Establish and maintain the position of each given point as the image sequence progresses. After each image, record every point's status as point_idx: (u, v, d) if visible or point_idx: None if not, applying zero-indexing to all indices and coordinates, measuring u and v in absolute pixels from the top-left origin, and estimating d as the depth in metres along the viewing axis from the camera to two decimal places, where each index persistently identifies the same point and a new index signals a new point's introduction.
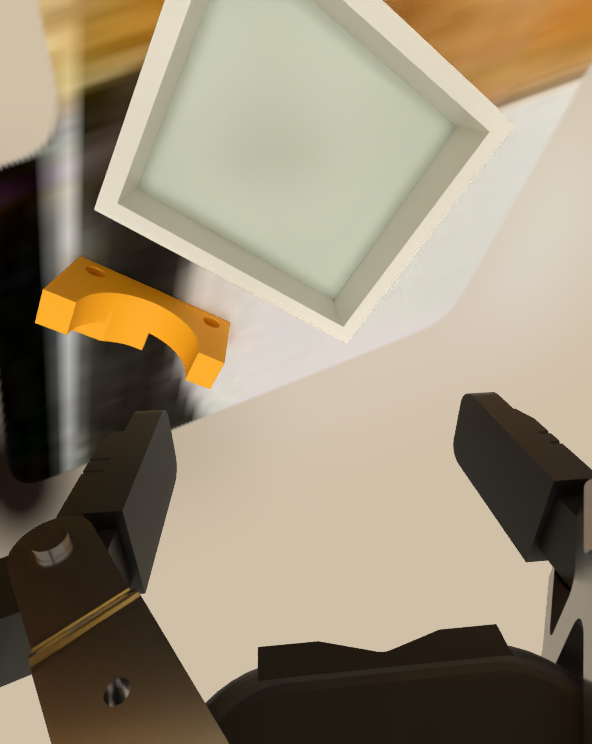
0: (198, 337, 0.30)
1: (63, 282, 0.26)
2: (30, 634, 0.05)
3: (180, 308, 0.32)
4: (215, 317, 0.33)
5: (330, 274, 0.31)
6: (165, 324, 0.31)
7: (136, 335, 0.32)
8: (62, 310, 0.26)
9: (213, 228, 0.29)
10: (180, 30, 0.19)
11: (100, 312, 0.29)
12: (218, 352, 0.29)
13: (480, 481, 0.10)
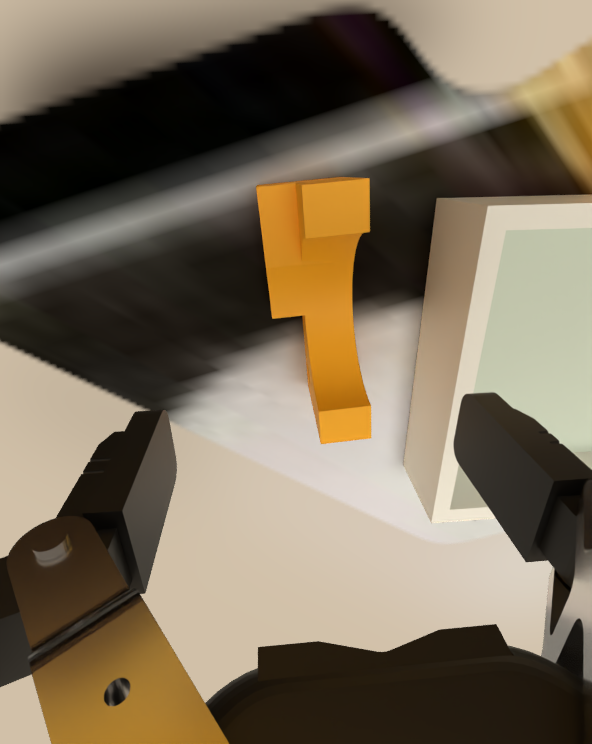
0: (362, 382, 0.21)
1: None
2: (30, 633, 0.05)
3: None
4: None
5: None
6: (332, 329, 0.22)
7: (291, 302, 0.21)
8: (346, 217, 0.16)
9: None
10: None
11: (320, 251, 0.19)
12: None
13: (480, 481, 0.10)
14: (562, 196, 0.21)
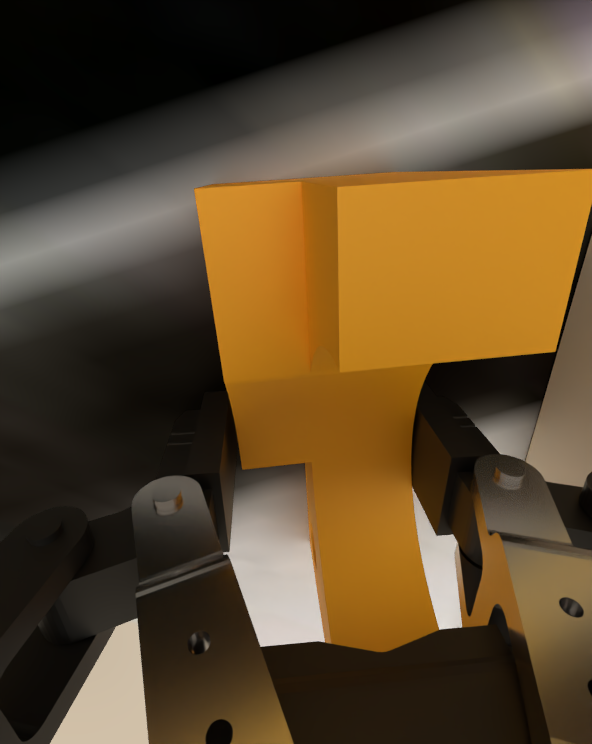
0: (431, 611, 0.10)
1: None
2: (140, 569, 0.06)
3: None
4: None
5: None
6: (367, 489, 0.11)
7: (284, 440, 0.10)
8: (487, 308, 0.04)
9: None
10: None
11: None
12: None
13: None
14: None
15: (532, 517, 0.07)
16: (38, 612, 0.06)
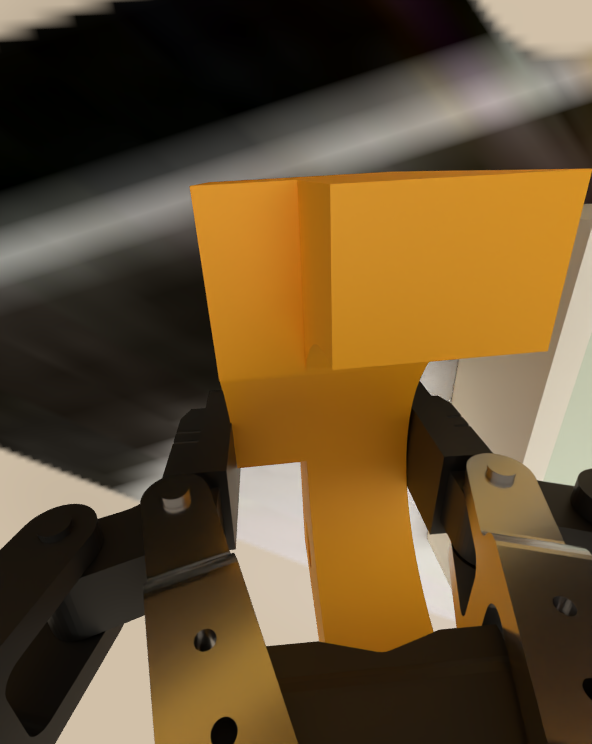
0: (425, 611, 0.10)
1: None
2: (148, 566, 0.06)
3: None
4: None
5: None
6: (362, 489, 0.11)
7: (279, 439, 0.10)
8: (480, 307, 0.04)
9: None
10: None
11: None
12: None
13: None
14: None
15: (524, 516, 0.07)
16: (47, 609, 0.06)
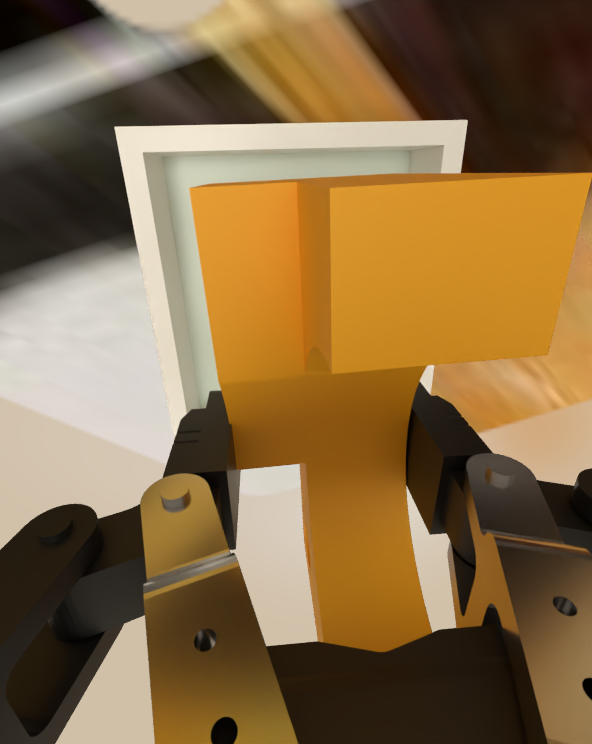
0: (424, 613, 0.10)
1: None
2: (148, 566, 0.06)
3: None
4: None
5: None
6: (362, 491, 0.11)
7: (278, 440, 0.10)
8: (480, 311, 0.04)
9: (181, 257, 0.25)
10: (339, 147, 0.19)
11: None
12: None
13: None
14: None
15: (524, 516, 0.07)
16: (47, 608, 0.06)
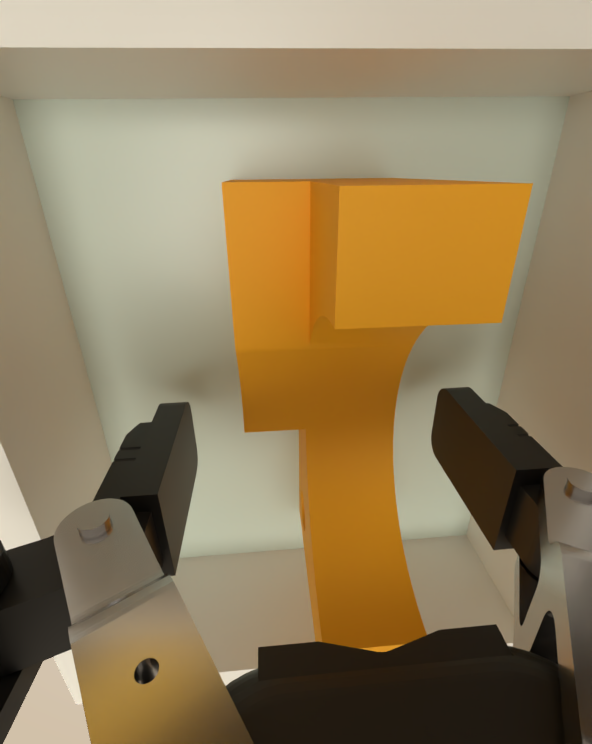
0: (404, 564, 0.11)
1: None
2: (71, 606, 0.05)
3: None
4: None
5: None
6: (354, 456, 0.12)
7: (282, 407, 0.11)
8: (449, 285, 0.06)
9: (79, 315, 0.12)
10: (458, 49, 0.06)
11: (351, 330, 0.09)
12: None
13: (454, 473, 0.11)
14: None
15: None
16: None
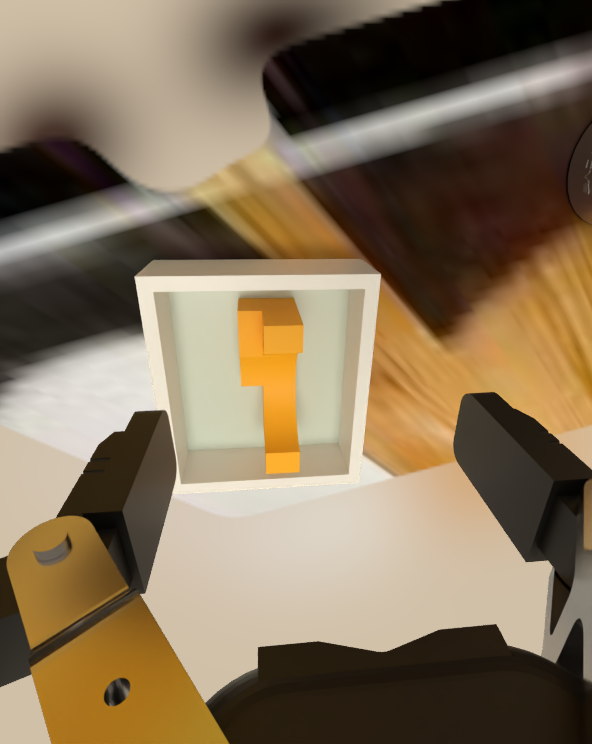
0: (297, 434, 0.32)
1: None
2: (30, 633, 0.05)
3: None
4: None
5: (205, 436, 0.37)
6: (281, 396, 0.33)
7: (255, 377, 0.32)
8: (289, 344, 0.27)
9: (177, 343, 0.33)
10: (291, 289, 0.27)
11: None
12: None
13: (480, 481, 0.10)
14: (236, 262, 0.30)
15: None
16: None
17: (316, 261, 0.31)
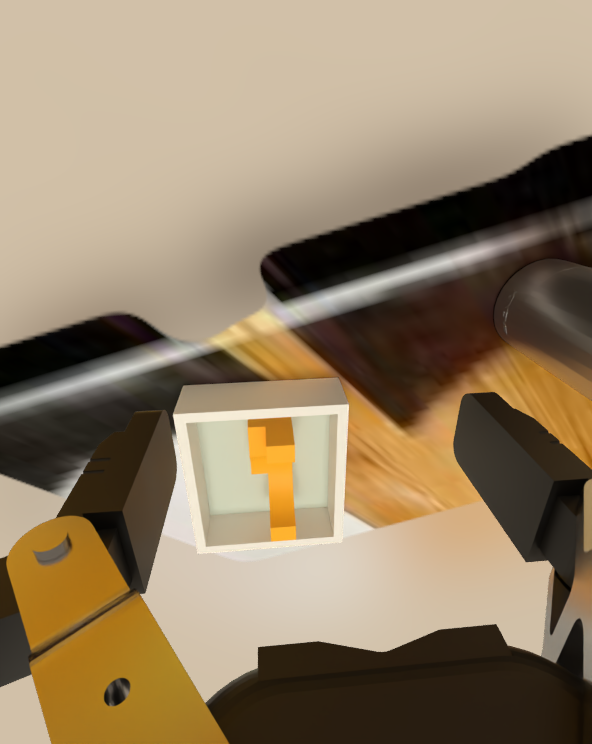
0: None
1: None
2: (30, 634, 0.05)
3: None
4: None
5: (223, 505, 0.47)
6: (281, 480, 0.43)
7: (261, 468, 0.42)
8: (284, 457, 0.37)
9: (201, 442, 0.43)
10: (284, 416, 0.38)
11: None
12: None
13: (480, 481, 0.10)
14: (244, 387, 0.41)
15: None
16: None
17: (304, 383, 0.41)
